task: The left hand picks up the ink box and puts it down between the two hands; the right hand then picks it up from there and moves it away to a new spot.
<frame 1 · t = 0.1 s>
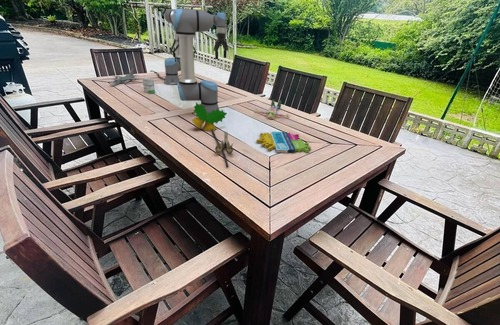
left hand: (220, 58, 240), 28 cm above the table, tool pointing down, fingers open, 13 cm apart
right hand: (184, 61, 211), 28 cm above the table, tool pointing down, fingers open, 13 cm apart
airplane: (125, 82, 254), on the table
toy: (272, 113, 198), on the table
ornament: (209, 128, 165), on the table
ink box: (149, 92, 228), on the table
colourful gloves pack: (281, 143, 152), on the table
jawbone: (224, 151, 138), on the table
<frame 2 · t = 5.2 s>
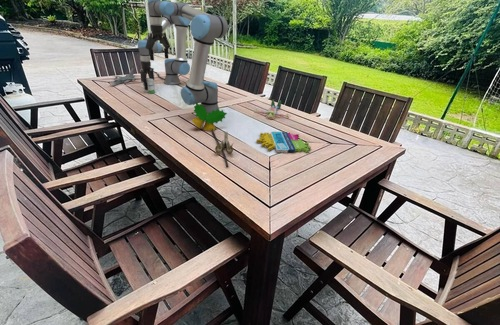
left hand: (149, 89, 227), 3 cm above the table, tool pointing down, fingers closed on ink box, 5 cm apart
right hand: (159, 59, 181), 34 cm above the table, tool pointing down, fingers open, 13 cm apart
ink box: (149, 92, 228), on the table, touching left hand
everything else where it was.
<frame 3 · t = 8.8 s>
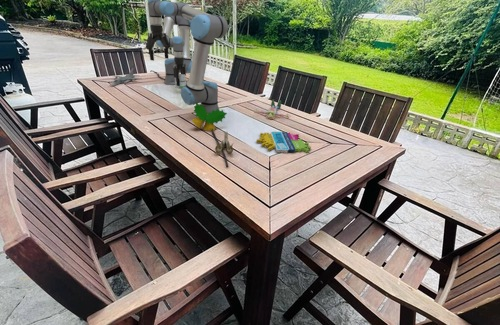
left hand: (180, 85, 229), 7 cm above the table, tool pointing down, fingers closed on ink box, 5 cm apart
right hand: (159, 59, 181), 34 cm above the table, tool pointing down, fingers open, 13 cm apart
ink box: (180, 88, 230), point 4 cm above the table, touching left hand
everything else where it was.
when the left hand's fingers open (4 cm above the table, at t = 12.7 s): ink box drops 1 cm, on the table.
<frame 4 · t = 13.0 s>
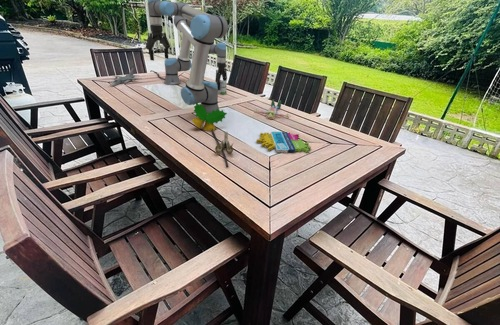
left hand: (221, 88, 237), 4 cm above the table, tool pointing down, fingers open, 8 cm apart
right hand: (159, 59, 181), 34 cm above the table, tool pointing down, fingers open, 13 cm apart
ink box: (221, 93, 239), on the table
everything else where it was.
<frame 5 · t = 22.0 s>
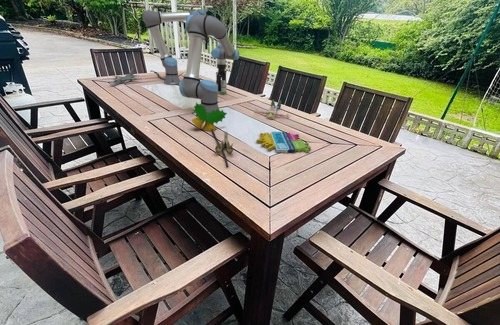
left hand: (202, 50, 272), 30 cm above the table, tool pointing down, fingers open, 13 cm apart
right hand: (221, 90, 238), 3 cm above the table, tool pointing down, fingers closed on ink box, 5 cm apart
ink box: (221, 93, 239), on the table, touching right hand
everything else where it was.
when the right hand's fingers open (4 cm above the table, at t = 31.4 s): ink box drops 1 cm, on the table.
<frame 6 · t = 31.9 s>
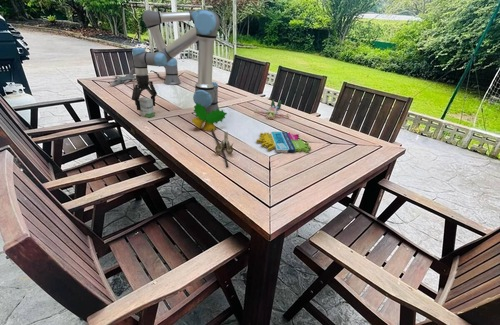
left hand: (202, 50, 272), 30 cm above the table, tool pointing down, fingers open, 13 cm apart
right hand: (146, 107, 175), 5 cm above the table, tool pointing down, fingers open, 12 cm apart
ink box: (147, 115, 178), on the table
everything else where it was.
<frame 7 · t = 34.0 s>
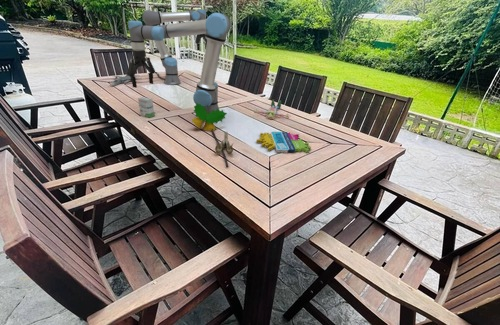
left hand: (202, 50, 272), 30 cm above the table, tool pointing down, fingers open, 13 cm apart
right hand: (143, 85, 168), 20 cm above the table, tool pointing down, fingers open, 13 cm apart
nothing on the table moved.
at the end: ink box inside the target area (0.1 cm from its centre), on the table; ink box tilted 0°; the two hands never held the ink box at the same time; the left hand is holding nothing; the right hand is holding nothing; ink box at rest at the end (0.0 cm/s) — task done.
